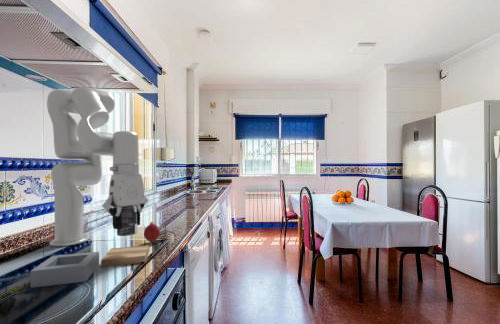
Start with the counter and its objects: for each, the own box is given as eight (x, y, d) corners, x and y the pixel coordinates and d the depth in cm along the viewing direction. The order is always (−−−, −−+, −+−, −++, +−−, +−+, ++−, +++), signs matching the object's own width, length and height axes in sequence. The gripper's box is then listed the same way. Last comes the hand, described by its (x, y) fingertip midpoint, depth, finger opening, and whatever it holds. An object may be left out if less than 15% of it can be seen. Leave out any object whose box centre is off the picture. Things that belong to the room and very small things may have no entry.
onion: (162, 242, 103) (162, 221, 103) (147, 245, 100) (147, 224, 100) (156, 239, 108) (156, 219, 108) (141, 242, 104) (141, 221, 104)
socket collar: (52, 270, 77) (52, 255, 77) (99, 265, 80) (99, 251, 80) (30, 287, 65) (30, 271, 65) (86, 281, 68) (85, 265, 68)
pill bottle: (141, 232, 88) (140, 197, 88) (129, 237, 82) (128, 199, 82) (125, 231, 89) (125, 197, 90) (112, 236, 84) (112, 199, 84)
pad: (111, 254, 90) (110, 248, 90) (149, 250, 93) (149, 245, 93) (101, 267, 78) (101, 260, 78) (145, 262, 81) (145, 255, 81)
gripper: (107, 170, 77) (108, 233, 76) (155, 169, 92) (156, 222, 91) (92, 171, 81) (93, 231, 80) (141, 170, 96) (142, 221, 95)
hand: (127, 226), depth 86 cm, fingers closed on pill bottle, 6 cm apart
